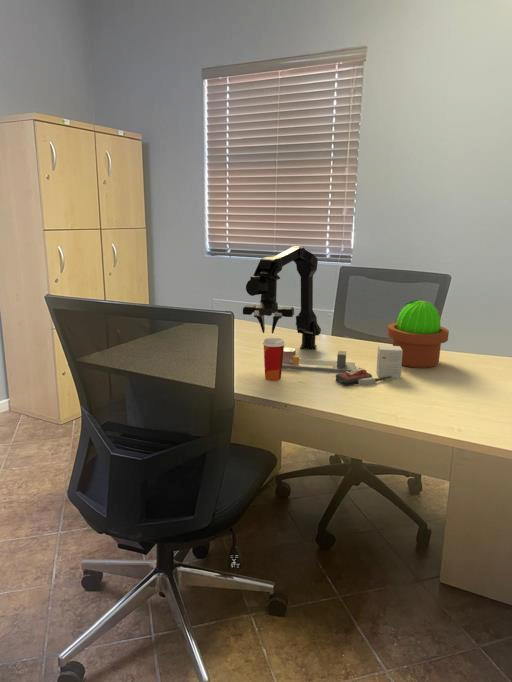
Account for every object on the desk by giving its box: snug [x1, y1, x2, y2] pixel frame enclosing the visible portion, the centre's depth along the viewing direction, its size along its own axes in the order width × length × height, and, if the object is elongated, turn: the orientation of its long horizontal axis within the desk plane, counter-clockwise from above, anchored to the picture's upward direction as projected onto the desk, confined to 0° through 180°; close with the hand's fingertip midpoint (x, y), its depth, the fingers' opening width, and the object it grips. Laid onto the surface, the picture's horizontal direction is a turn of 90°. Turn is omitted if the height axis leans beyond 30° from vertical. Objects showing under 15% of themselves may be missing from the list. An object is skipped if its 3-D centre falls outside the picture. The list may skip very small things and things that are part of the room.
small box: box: [376, 345, 403, 379], centre depth 187 cm, size 8×6×10 cm
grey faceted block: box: [283, 347, 297, 363], centre depth 197 cm, size 7×5×4 cm, turn 169°
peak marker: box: [293, 355, 300, 365], centre depth 194 cm, size 2×2×3 cm
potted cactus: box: [387, 299, 450, 369], centre depth 202 cm, size 22×22×25 cm
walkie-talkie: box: [335, 367, 393, 387], centre depth 182 cm, size 9×4×20 cm
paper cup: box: [262, 337, 286, 382], centre depth 182 cm, size 8×8×14 cm
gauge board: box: [282, 350, 356, 374], centre depth 197 cm, size 10×30×6 cm, turn 79°
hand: (268, 333), depth 198 cm, fingers open, 3 cm apart
